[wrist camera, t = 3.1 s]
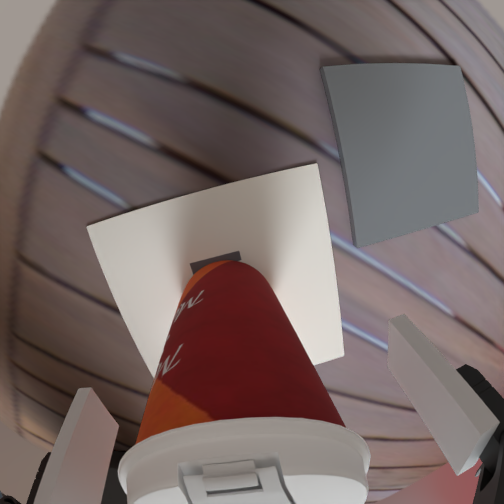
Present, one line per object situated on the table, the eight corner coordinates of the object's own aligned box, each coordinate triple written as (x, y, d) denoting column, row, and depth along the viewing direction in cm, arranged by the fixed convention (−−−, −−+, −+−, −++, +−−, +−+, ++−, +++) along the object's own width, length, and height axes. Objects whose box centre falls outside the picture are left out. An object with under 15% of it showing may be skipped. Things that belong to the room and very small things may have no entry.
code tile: (165, 397, 22) (165, 398, 21) (87, 225, 17) (86, 226, 17) (343, 354, 22) (344, 355, 22) (316, 163, 17) (317, 163, 17)
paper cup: (152, 253, 18) (55, 463, 5) (282, 232, 18) (413, 421, 5) (183, 359, 20) (168, 555, 7) (293, 341, 21) (363, 529, 8)
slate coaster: (353, 245, 19) (357, 248, 18) (319, 68, 15) (322, 66, 15) (473, 210, 19) (478, 212, 19) (454, 67, 16) (459, 66, 15)
